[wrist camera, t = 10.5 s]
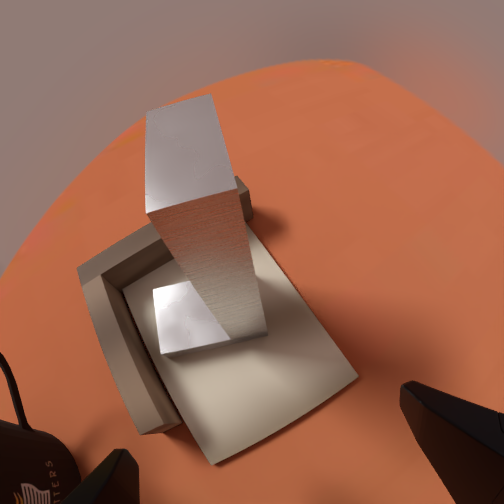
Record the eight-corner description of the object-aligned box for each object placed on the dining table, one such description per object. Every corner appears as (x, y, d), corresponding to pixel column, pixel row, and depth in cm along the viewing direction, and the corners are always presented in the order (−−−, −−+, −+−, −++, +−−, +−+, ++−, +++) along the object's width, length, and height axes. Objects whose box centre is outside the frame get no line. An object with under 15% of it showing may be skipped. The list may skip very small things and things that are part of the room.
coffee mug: (65, 543, 11) (-33, 568, 2) (-2, 459, 14) (-98, 445, 5) (140, 451, 15) (21, 465, 6) (57, 364, 18) (-53, 315, 9)
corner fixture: (367, 369, 16) (382, 361, 13) (187, 475, 14) (169, 486, 11) (242, 203, 22) (236, 175, 20) (98, 286, 20) (76, 267, 18)
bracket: (268, 335, 17) (237, 188, 6) (168, 357, 17) (13, 258, 6) (252, 273, 19) (211, 93, 8) (159, 296, 19) (39, 155, 8)
